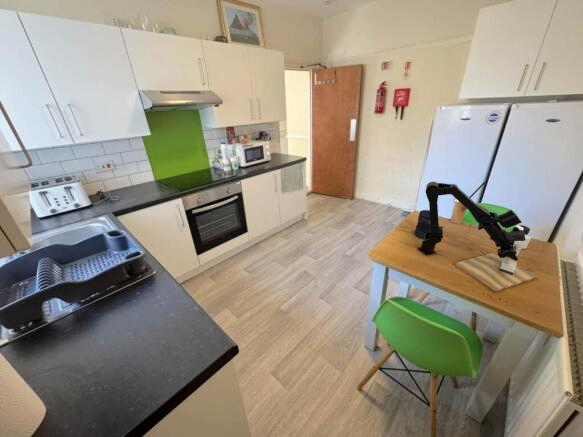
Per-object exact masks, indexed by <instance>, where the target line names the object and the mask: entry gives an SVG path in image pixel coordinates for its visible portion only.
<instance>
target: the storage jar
mask: <svg viewBox="0 0 583 437" xmlns="http://www.w3.org/2000/svg"><path fill="white" fill-rule="evenodd" d="M430 226H431V223H430V209H421V210H420V211H419V214H418V216H417V224H416V226H415V230H414V236H415V237H416V238H418V239H421V240H424V234H426V233H428V232H430Z"/></svg>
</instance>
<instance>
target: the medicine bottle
mask: <svg viewBox="0 0 583 437" xmlns="http://www.w3.org/2000/svg"><path fill="white" fill-rule="evenodd" d="M514 227H518V228H519V229H520V230H523V231H524V234H525V239H526V240H525V241H514V242H515V243H514V245H515V244H521V245H522V248H521V250H522V249H523V250H525V249H527V247H528V246H529V243H530V242H531V239H532V237H531V236H529V233H530V231H531V228H530V227H529V226H526V225H523V224H517V225H514ZM507 232H510V230H509V231H507ZM514 245H513V246H514Z"/></svg>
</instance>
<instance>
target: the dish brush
mask: <svg viewBox="0 0 583 437" xmlns="http://www.w3.org/2000/svg"><path fill="white" fill-rule="evenodd" d="M514 247H516V252H517V254H516V256H517V257H518V256H519V254H520V252H521V250H522V249H521V248H522V245H521V244H515V245H514ZM517 264H518V263H517V261H515V260H513V259H511V258H509V257H507V258H506V257H504V259H503V261H502V263H501V266H500V269H499V271H502V272H504V273H507V274H510V275H513V273H514V271H515V268H516V266H517Z"/></svg>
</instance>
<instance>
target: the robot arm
mask: <svg viewBox="0 0 583 437" xmlns="http://www.w3.org/2000/svg"><path fill="white" fill-rule="evenodd" d="M425 195H426V198H427V201H428V206H429V209H428V210H430V223H431V226H430V232H428V233H426V234H424V239H422V241H421V244H420V247H418V248H417V250H418V251H419V252H421V253H422V254H423V255H425V256H429V255H434V254H436V253H437V252H436V251H435V248H436V245H437V244H439V243H441V242H442V240H443V239H444V226H443V225H442V226H440V224H439V206H438V205H439V204H438V202H439V201H438V200H439V196H446V195H447V196H448V195H450V196H453V197H454V198H456V199H457V200H458V201H459V202H460V203H461V204H463V205H464V206H465V207H466V208H467V209H468V210H467V211H469V213H470V214H471V215H472V216H471V217H472V218H473V219H474V220H475V221H476V223H477V224H478V225H477V230H478V231H480V230H484V231H485V232H486V233H487V235H488V236H489V239H490V240H491V241H492V242H494V244H495V247H496V248H498V249H497V251H496V252H497V253H496V254H497V255H498V256H499V257H500V258H508V257H509V258H511V259H513V260H515V262H517V261H519V258H518V256H516V254H517V252H516V247H514V246H513V245H514V243H515V242H514V241H525V240H526V239H525V234H524V231H523V230H520V229H519V228H518V227H515V226H516V225H521V224H522V223H523V222H522V220H521V218H520V217H519V216H518V215H517V213H515V212H514V211H513V210H512V209H510V210H508V211H507V210H506V212H503V213H501V214H498V213H496V212H493V211H489V209H487V208H485V207H484V206H483V205H480V204H479V203H477V202H475V201H474V200H473V199H472V197H471V198H469V197H470V196H468V194H466V193H465V192H464V191H463V190H462V189H461V188H460V187H459V186H458V184H454V183H443V182H436V181H430V182H428V183H427V184H426V186H425ZM511 227H512V229H511V230H509V231H510V232H508V231H507V230H506V229H509V228H511ZM503 228H504V229H503Z"/></svg>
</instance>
